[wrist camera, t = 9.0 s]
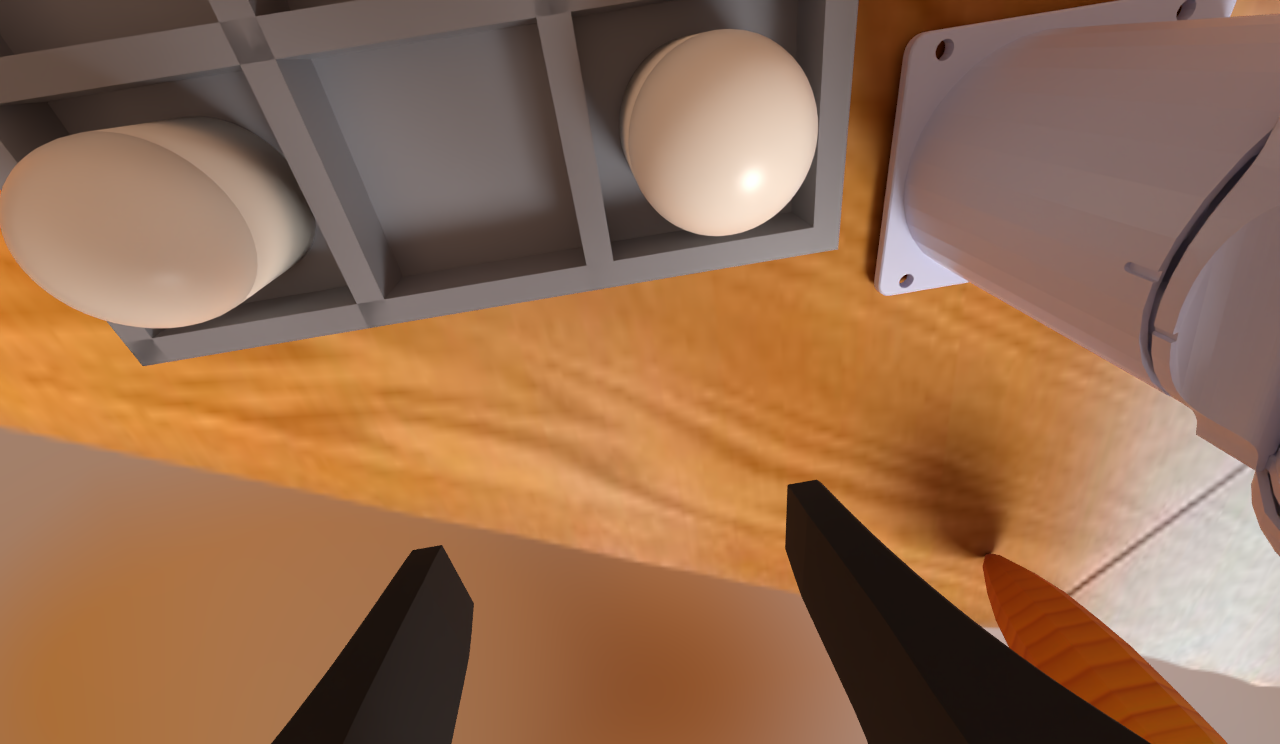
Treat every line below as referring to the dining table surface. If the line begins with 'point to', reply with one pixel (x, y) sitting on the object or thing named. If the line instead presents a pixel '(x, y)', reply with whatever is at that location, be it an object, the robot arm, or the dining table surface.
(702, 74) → the egg carton
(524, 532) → the dining table surface
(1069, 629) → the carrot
